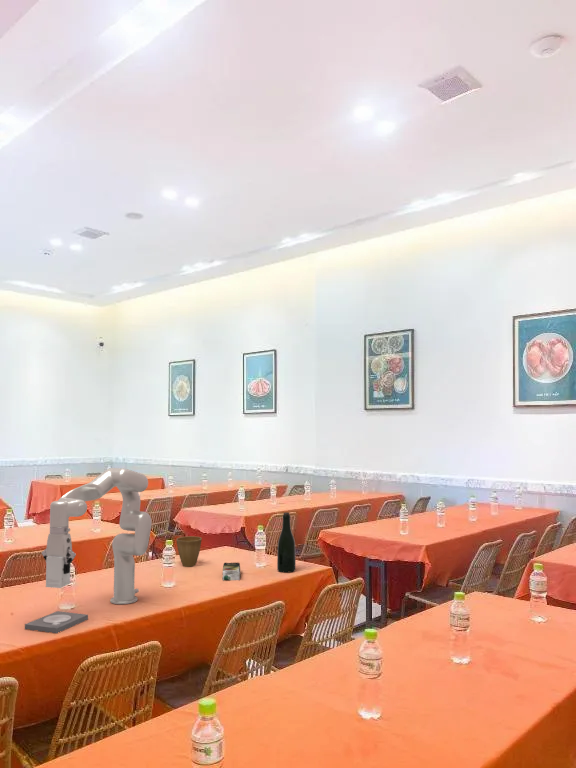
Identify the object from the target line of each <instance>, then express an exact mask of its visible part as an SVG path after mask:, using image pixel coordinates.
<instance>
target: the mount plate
mask: <svg viewBox="0 0 576 768" xmlns="http://www.w3.org/2000/svg"><path fill="white" fill-rule="evenodd" d="M85 620H86V621H88V620H89V614H86V613H85V614H84V613H78V612H77V613H76V612H69V611H59V610H57V611H53V612H52V613H50V614H47V615H44V616H42V617H40V618H37V619H34V620H32V621H29V622H27V623H24V630H27V629H30V630H29V631H34V630H38V631H37V632H42V631H45V632H44V633H49V632H52V633H51V634H58V632H59V633H61V632H63V631H65V629H66V630H67V629H69V628H72V627H75V626H77V625H79V624H81V623H83V622H86V621H85ZM76 624H77V625H76ZM60 631H61V632H60Z"/></svg>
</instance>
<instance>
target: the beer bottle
mask: <svg viewBox="0 0 576 768" xmlns="http://www.w3.org/2000/svg"><path fill="white" fill-rule="evenodd" d="M276 562H277V563H276V566H277V567H276V568H277V571H278V572H279V573H293V571H294V572H295V571H296V565H297V563H296V541H295V538H294V535H293V532H292V528H291V515H290V512H283V514H282V528H281V532H280V534H279V538H278V541H277V561H276Z"/></svg>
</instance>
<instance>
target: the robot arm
mask: <svg viewBox="0 0 576 768" xmlns="http://www.w3.org/2000/svg"><path fill="white" fill-rule="evenodd" d="M148 486H149V480H148V477H147V476H146V475H145V474H143V473H140V472H137V471H135V470H131V469H128V468H125V467H124V468H122V467H120V468H119V467H111V468H108V469H106V470H104V471H103V472H101V473H100V474H99V475H98V476H96V477H95V478H94V479H92V480H91V481H89V482H88V483H86V484H82V485H80V486H78V487H75V488H73V489H71V490H69V491H68V492H66V493H65V494H63V495H62V496H61V497H60V498H59V499H57V500H54V501H52V502H51V503H50V506H49V507H50V508H49V533H48V536H47V541H46V548H45V549H44V550H43V551H41V555H42V557H43V559H44V561H46V558H47V557H48V556H57V557H63V558H64V562H65V564H64V574H67V573H70V574H71V563H72V562H73V561H74V559H75V557H76V556H77V554H76V552H75V551H73V544H72V542H73V541H72V537H71V533H70V532H71V528H69V524H70V522H69V520H70V518H72V517H74V518H75V517H77V518H78V517H82V516H83V515H85V514H86V512H87V510H88V504H87V503H86V502H90V501H95V500H98V499H100V498H102V497H103V496H105V495H106V494H107V493H109V492H110V491H111V490H112V489H113V488H117V490H118V491H119V492H120V494H121V496H122V497H121V498H122V504H121V510H120V516H119V527H120V529H121V530H124V531H127V532H129V531H130V532H134V534H133V533H126V532H124V533H123V532H122V533H118V534H116V536H114V538H113V539H112V545H111V546H112V553H113V566H114V567H113V596H112V597H111V598H110V601H109V602H110V603H111V604H114V605H128V604H134V603H135V602H137V601H138V598H139V597H138V596H136V594H138V593H139V591H140V589H139V588H135V568H136V565H135V563H136V562H135V558H134V556H139V557H140V556H143V555H144V554H145V553H146V552H147V551H148V548H149V542H150V541H149V540H150V535H151V530H152V518H151V515H150V514H149V513H148V512H145V511H141V502H142V501H141V496H140V494H139V493H142V492H145V491H146V490H147V489H148ZM70 556H71V557H70ZM66 558H67V559H66Z"/></svg>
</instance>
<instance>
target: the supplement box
mask: <svg viewBox="0 0 576 768" xmlns="http://www.w3.org/2000/svg"><path fill="white" fill-rule="evenodd" d="M70 557H71V556H70ZM66 559H67V558H66ZM64 564H65V562H64V558H63V557H57V556H48V557H47V558H46V560H45V566H46V567H45V569H46V570H45V588H50V589H51V588H53V589H54V588H55V589H62V588H64V587H66V586H67V585H70V584H71V572H70V573H67V574H64Z"/></svg>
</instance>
